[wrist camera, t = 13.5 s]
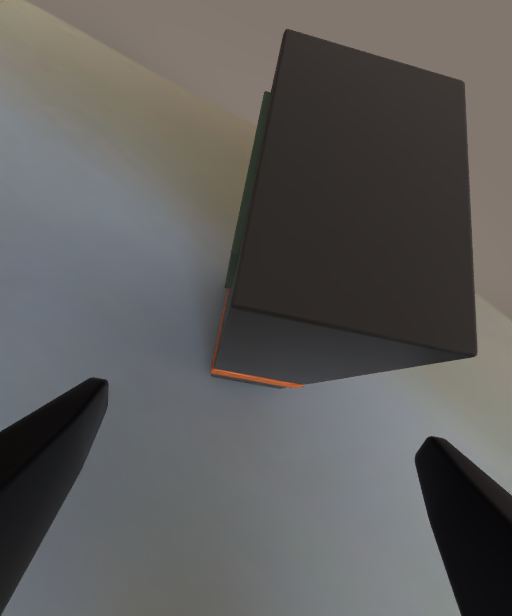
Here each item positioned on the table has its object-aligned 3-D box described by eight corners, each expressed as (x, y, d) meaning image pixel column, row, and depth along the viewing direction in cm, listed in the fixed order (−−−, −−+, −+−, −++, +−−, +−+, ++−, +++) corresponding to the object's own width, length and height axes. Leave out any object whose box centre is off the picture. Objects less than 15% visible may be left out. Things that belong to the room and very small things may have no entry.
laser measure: (294, 290, 18) (468, 79, 6) (280, 389, 16) (483, 361, 4) (228, 276, 18) (278, 22, 6) (207, 376, 16) (218, 308, 4)
